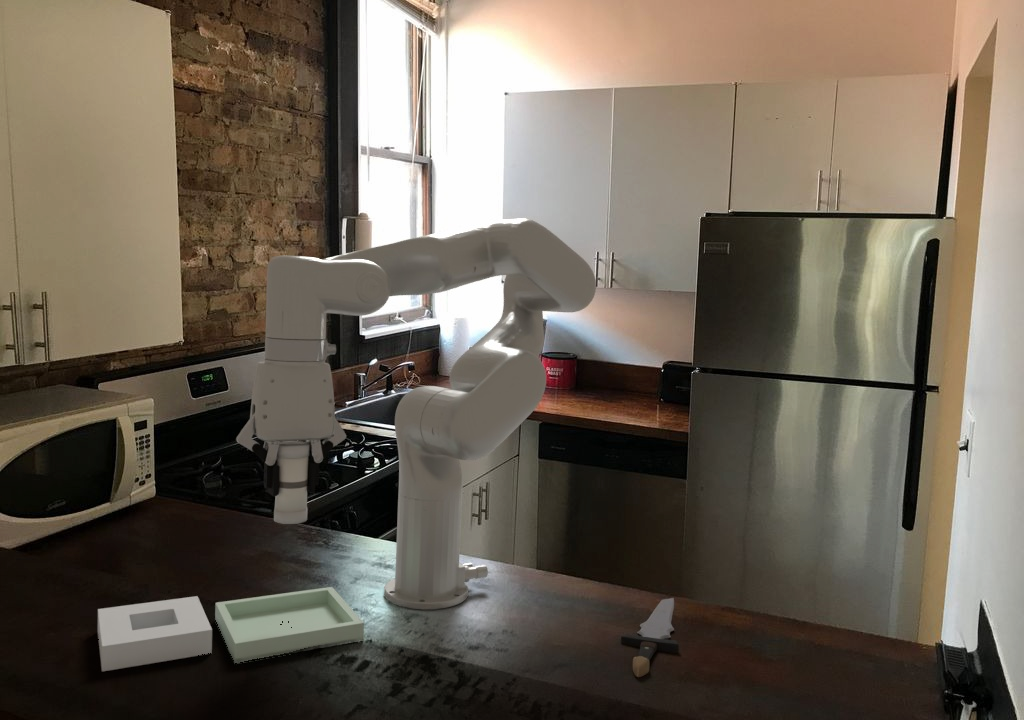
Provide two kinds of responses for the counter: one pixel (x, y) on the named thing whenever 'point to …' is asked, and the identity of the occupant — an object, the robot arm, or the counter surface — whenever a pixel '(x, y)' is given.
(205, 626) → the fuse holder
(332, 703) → the counter surface
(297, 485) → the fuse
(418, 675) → the counter surface
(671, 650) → the dagger
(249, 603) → the parts tray
